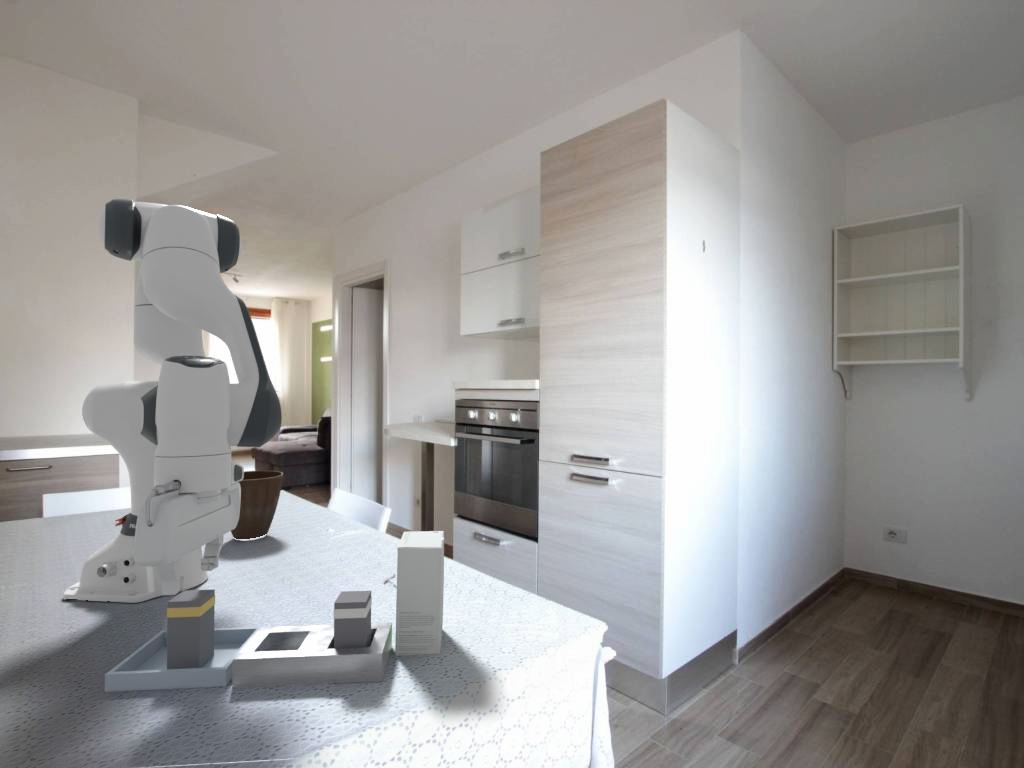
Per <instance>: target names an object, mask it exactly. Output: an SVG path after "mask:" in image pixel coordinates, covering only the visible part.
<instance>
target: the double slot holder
mask: <svg viewBox="0 0 1024 768" xmlns="http://www.w3.org/2000/svg"><path fill="white" fill-rule="evenodd" d="M260 627H261V628H260V629H259V630H258V631H257V632H256V633H255V635H254V636H253V637H252V638H251V639H250V640H249V641H248V643H247V644H246V645H245V646H244V647H243V648H242V649H241V650H240V652H239V653H238V654H237V655H236V656H235V657H234V658H233V667H232V679H231V680H232V682H231V686H232V687H231V688H232V689H239V688H240V689H241V688H258V687H259V688H261V687H262V688H264V687H280V686H281V687H283V686H286V687H287V686H301V685H303V686H305V685H324V684H327V685H328V684H332V685H342V684H344V685H345V684H363V683H364V684H366V683H367V684H369V683H382V682H383V680H384V676H385V673H386V669H387V665H388V663H389V659H390V655H391V652H392V648H393V622H373V623H372V622H371V646H370V647H359V648H334V624H315V625H313V624H311V625H309V624H308V625H289V626H288V625H287V626H286V625H285V626H260Z"/></svg>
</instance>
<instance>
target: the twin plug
mask: <svg viewBox="0 0 1024 768" xmlns="http://www.w3.org/2000/svg"><path fill="white" fill-rule="evenodd" d="M372 596H373V595H372V590H356V591H355V590H353V591H352V590H349V591H348V590H345V591H340V593H339V595H338V596H337V597H336V600H335V601H334V603H333V606H334V607H333V625H334V648H359V647H370V646H371V623H372V604H373V603H372V601H373V600H372V599H373V597H372Z"/></svg>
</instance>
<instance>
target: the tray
mask: <svg viewBox="0 0 1024 768" xmlns="http://www.w3.org/2000/svg"><path fill="white" fill-rule="evenodd" d="M261 627H262V626H246V627H245V626H244V627H243V626H242V627H218V628H216V627H214V656H213V657H212V658H211V659H210V660H209V661H208V662H207V663H206V664H205V665H204V666H203V667H202V668H189V669H167V629H165V630H160V631H159V632H158V633H157V634H155V635H154V636H153V637H151V638H150V639H149V640H147V641H146V642H145V643H143V644H142V645H141V646H140V647H138V648H137V649H136V650H135V651H133V652H132V653H131V654H129V655H128V656H127V657H125V658H124V659H123V660H122V661H120V662H119V663H118V664H117V665H115V666H114V667H112V669H110V670H108V672H106V673H105V674H104V692H109V693H110V692H126V691H127V692H128V691H146V690H147V691H149V690H151V691H153V690H167V689H168V690H169V689H188V688H189V689H192V688H194V689H195V688H211V687H213V688H214V687H226V686H227V685H228V684H229V683H230V682H231V680H232V667H233V658H234V657H235V656H236V655H237V654H238V653H239V652H240V650H241V649H242V648H243V647H244V646H245V645H246V644H247V643H248V641H249V640H250V639H251V638H252V637H253V636H254V635H255V633H256V632H257V631H258V630H259V629H260V628H261Z"/></svg>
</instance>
